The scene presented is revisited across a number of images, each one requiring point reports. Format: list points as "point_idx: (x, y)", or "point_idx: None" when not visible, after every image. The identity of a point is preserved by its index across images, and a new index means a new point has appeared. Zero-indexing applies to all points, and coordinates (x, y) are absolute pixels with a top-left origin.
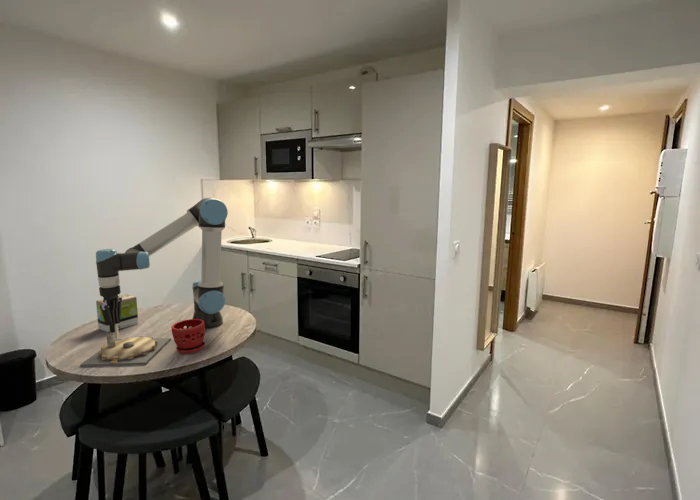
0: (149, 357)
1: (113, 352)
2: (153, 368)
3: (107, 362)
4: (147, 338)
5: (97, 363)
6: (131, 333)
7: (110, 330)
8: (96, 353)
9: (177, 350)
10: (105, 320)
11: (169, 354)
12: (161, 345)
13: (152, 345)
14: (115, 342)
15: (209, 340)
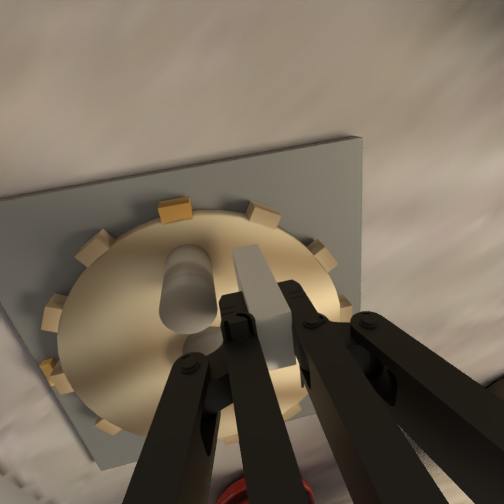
0: None
1: (111, 335)
2: (83, 494)
3: (40, 339)
4: None
5: (8, 300)
6: (481, 150)
7: (220, 313)
8: (130, 186)
9: (221, 499)
10: (154, 437)
11: None
12: None
13: (233, 434)
14: (258, 238)
15: (340, 494)
